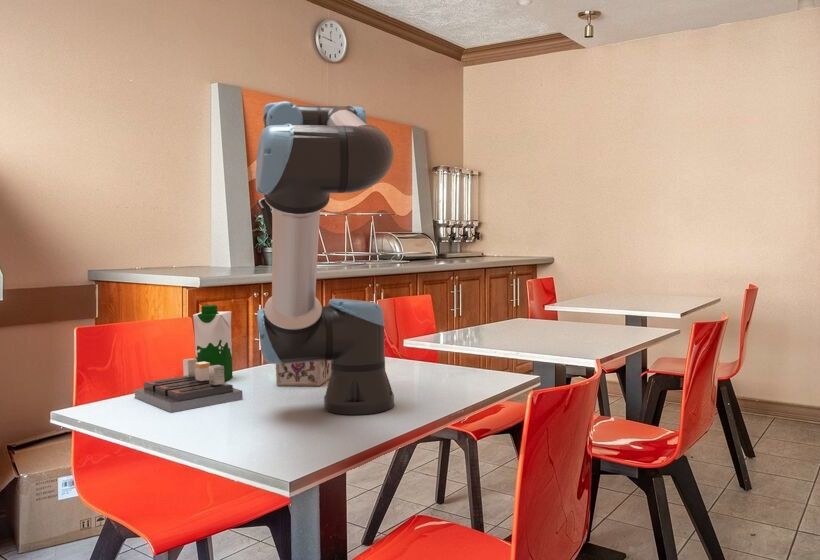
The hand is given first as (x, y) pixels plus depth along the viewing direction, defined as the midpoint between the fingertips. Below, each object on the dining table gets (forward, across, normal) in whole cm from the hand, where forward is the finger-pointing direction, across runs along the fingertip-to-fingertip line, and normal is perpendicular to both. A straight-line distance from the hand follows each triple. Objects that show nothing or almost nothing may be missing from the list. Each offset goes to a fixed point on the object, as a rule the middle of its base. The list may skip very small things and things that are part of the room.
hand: (285, 269), depth 167 cm
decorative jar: (+30, -9, -7) cm, 32 cm away
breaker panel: (+29, +20, -12) cm, 38 cm away
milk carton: (+30, +6, -27) cm, 41 cm away
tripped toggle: (+26, +17, -11) cm, 33 cm away
